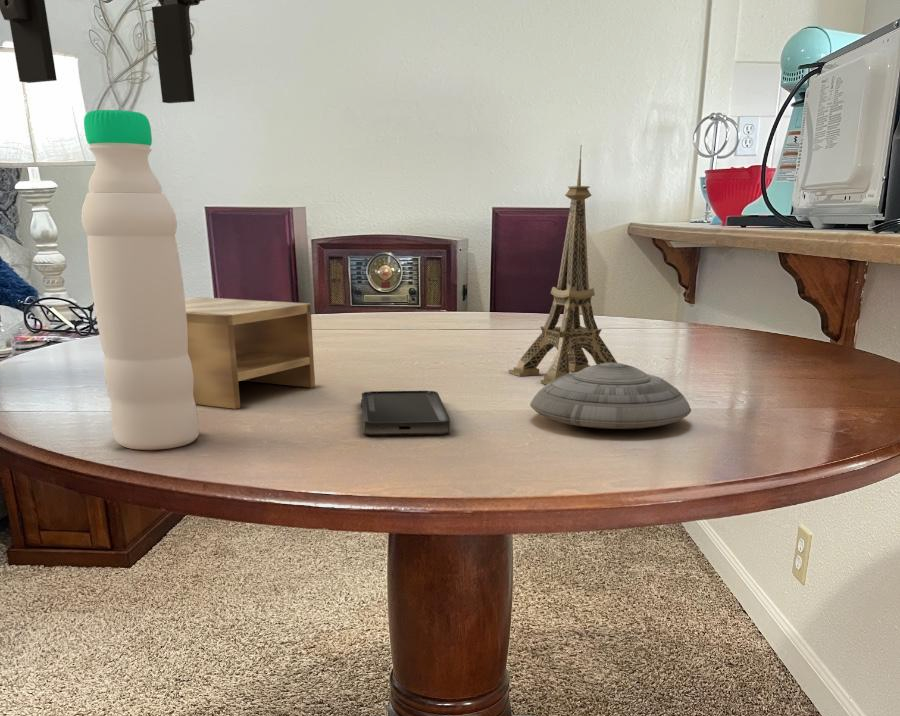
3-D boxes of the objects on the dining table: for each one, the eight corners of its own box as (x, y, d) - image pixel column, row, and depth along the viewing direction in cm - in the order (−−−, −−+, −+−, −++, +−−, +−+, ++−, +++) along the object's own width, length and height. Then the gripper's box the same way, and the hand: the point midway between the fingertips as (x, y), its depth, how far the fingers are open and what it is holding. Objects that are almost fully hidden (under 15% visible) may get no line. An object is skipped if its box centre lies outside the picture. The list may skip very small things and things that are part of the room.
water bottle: (102, 451, 73) (49, 106, 63) (130, 432, 80) (86, 115, 70) (188, 452, 73) (148, 106, 63) (209, 432, 80) (176, 116, 70)
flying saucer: (499, 424, 83) (500, 364, 81) (578, 399, 94) (582, 346, 92) (645, 448, 75) (652, 382, 73) (714, 418, 86) (721, 360, 84)
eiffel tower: (508, 372, 110) (515, 146, 100) (581, 367, 114) (594, 149, 104) (552, 386, 101) (565, 140, 91) (629, 380, 105) (649, 143, 95)
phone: (436, 390, 92) (451, 421, 78) (436, 401, 93) (451, 433, 79) (360, 391, 91) (361, 422, 78) (360, 402, 92) (362, 435, 78)
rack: (117, 394, 96) (105, 307, 92) (205, 375, 107) (197, 296, 103) (235, 409, 89) (226, 315, 85) (315, 386, 101) (310, 303, 97)
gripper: (-79, -414, 45) (4, 65, 54) (235, -219, 66) (260, 106, 74) (-168, -374, 49) (-76, 73, 57) (159, -199, 69) (191, 111, 77)
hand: (114, 93), depth 66 cm, fingers open, 13 cm apart
